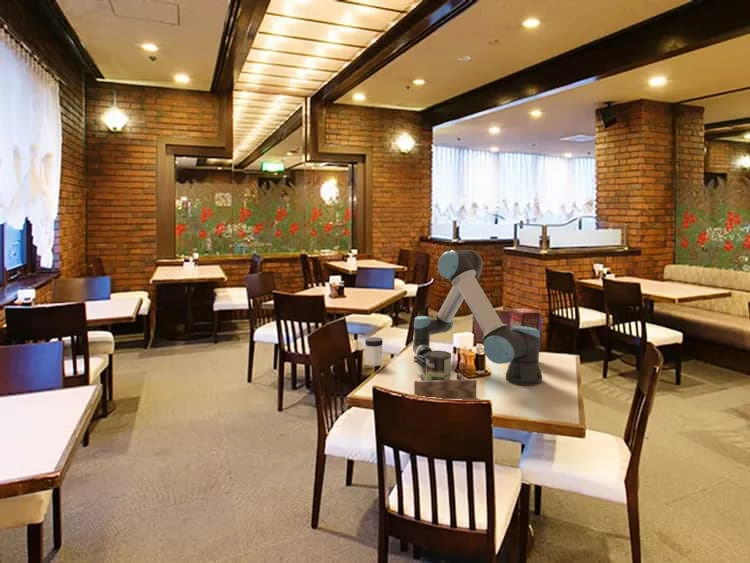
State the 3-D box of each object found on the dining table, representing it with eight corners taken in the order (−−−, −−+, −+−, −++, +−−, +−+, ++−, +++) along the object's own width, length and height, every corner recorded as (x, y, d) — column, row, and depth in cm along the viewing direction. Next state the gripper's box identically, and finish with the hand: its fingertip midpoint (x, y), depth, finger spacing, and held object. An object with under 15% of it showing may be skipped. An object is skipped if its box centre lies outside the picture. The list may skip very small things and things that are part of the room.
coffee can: (432, 392, 211) (433, 358, 209) (421, 384, 221) (421, 351, 219) (455, 389, 215) (456, 355, 213) (443, 381, 225) (443, 349, 223)
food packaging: (508, 358, 261) (509, 308, 257) (525, 356, 262) (527, 307, 259) (520, 365, 248) (522, 313, 244) (539, 364, 249) (541, 312, 246)
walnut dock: (469, 389, 215) (470, 372, 214) (476, 397, 205) (476, 380, 204) (411, 391, 213) (411, 374, 212) (414, 399, 203) (415, 382, 202)
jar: (370, 367, 246) (370, 342, 244) (361, 363, 252) (361, 338, 251) (386, 364, 250) (386, 339, 249) (377, 360, 257) (377, 336, 256)
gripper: (438, 361, 247) (449, 377, 223) (411, 362, 246) (418, 378, 222) (438, 346, 246) (449, 360, 222) (411, 346, 245) (419, 361, 221)
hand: (434, 369), depth 222 cm, fingers closed
